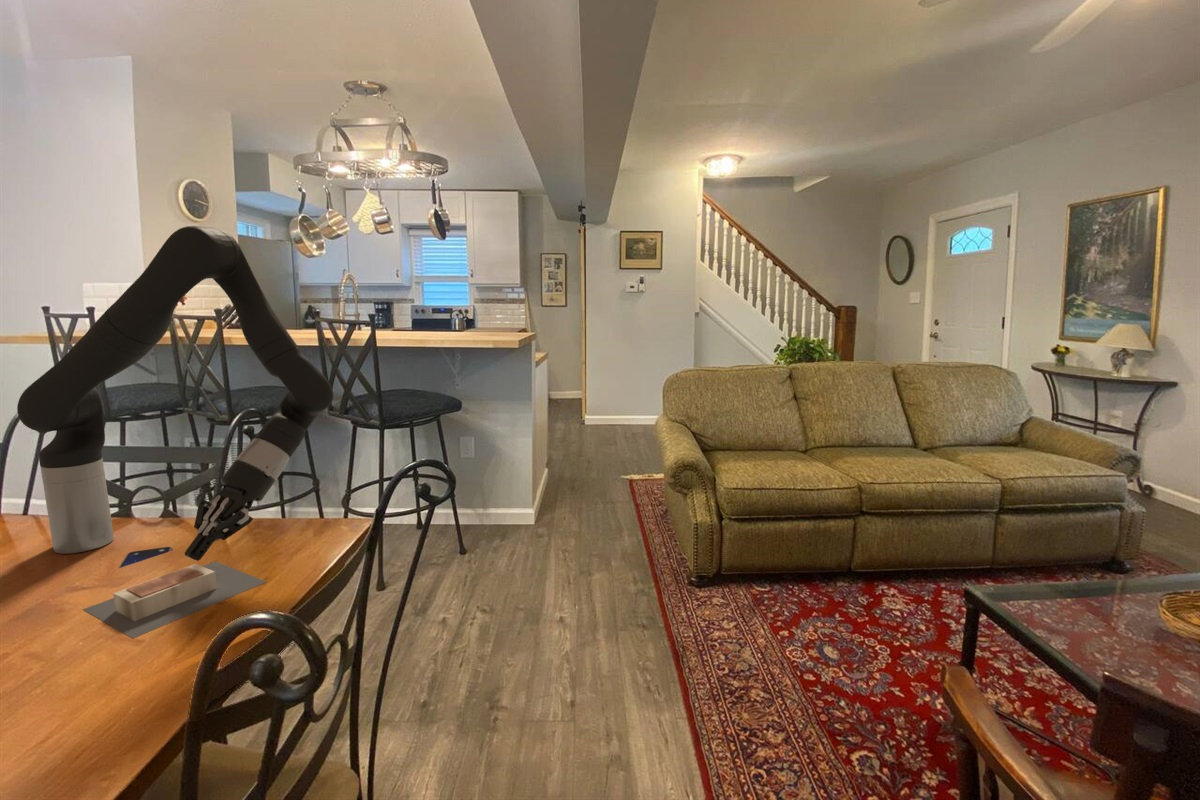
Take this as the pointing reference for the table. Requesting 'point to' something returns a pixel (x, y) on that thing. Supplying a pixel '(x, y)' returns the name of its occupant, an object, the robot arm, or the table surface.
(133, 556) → the smartphone
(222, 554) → the table surface
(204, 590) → the beige rectangular block
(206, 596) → the rubber mat
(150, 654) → the table surface
